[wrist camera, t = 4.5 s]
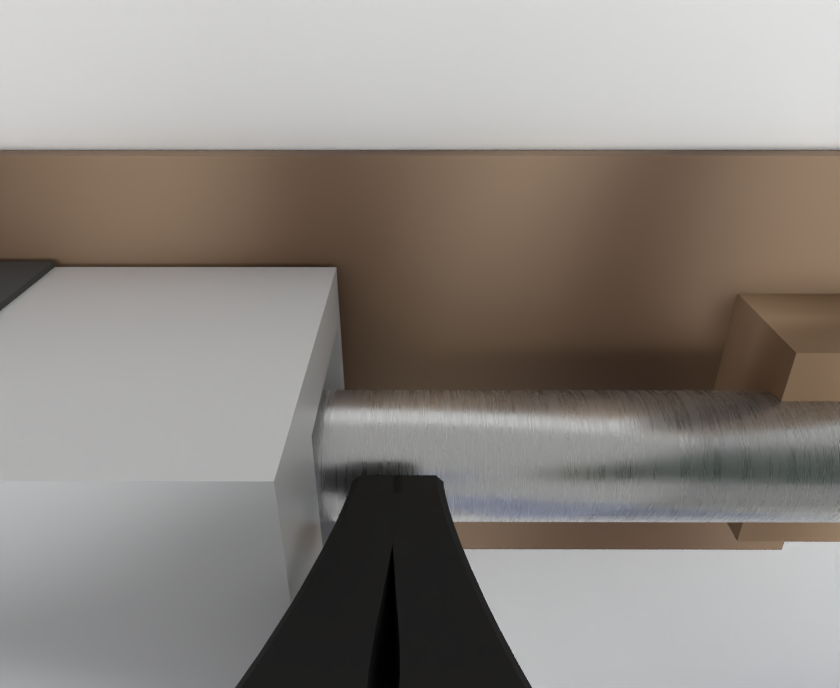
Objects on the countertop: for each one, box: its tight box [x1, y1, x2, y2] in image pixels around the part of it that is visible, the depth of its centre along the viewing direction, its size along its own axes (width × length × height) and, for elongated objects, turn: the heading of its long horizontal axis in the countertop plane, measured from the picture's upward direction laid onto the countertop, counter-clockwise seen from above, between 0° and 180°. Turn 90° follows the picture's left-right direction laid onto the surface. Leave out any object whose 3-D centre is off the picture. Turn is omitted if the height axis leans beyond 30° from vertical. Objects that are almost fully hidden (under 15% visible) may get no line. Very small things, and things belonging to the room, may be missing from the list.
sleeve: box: [0, 267, 345, 688], centre depth 11 cm, size 5×5×6 cm
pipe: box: [311, 390, 840, 523], centre depth 11 cm, size 21×2×2 cm, turn 90°
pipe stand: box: [0, 150, 840, 550], centre depth 12 cm, size 22×9×4 cm, turn 90°
